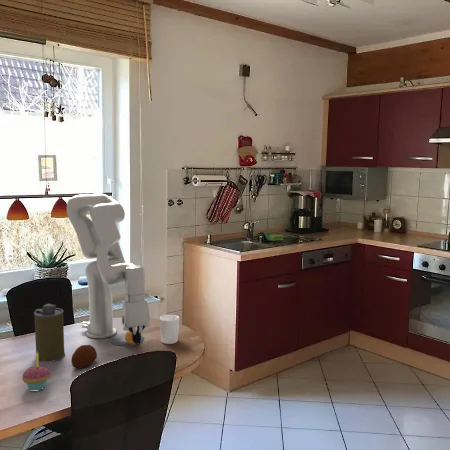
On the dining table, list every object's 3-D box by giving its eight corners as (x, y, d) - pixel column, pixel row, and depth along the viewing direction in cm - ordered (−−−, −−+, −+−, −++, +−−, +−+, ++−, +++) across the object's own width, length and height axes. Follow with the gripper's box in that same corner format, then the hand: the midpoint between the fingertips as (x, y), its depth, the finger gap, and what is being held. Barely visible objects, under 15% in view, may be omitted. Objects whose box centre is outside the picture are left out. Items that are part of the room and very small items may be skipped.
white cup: (180, 337, 210) (180, 314, 209) (177, 345, 202) (177, 321, 201) (162, 337, 211) (162, 314, 209) (157, 344, 203) (157, 320, 202)
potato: (102, 360, 186) (102, 340, 185) (86, 373, 175) (85, 352, 174) (84, 358, 188) (83, 338, 187) (66, 371, 178) (66, 349, 176)
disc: (103, 344, 202) (103, 343, 202) (119, 332, 216) (119, 331, 216) (135, 347, 199) (135, 347, 199) (149, 335, 212) (149, 335, 212)
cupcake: (27, 382, 168) (26, 348, 166) (53, 382, 169) (52, 347, 167) (19, 395, 160) (17, 359, 158) (47, 394, 160) (45, 358, 159)
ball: (125, 341, 198) (119, 335, 203) (134, 350, 201) (129, 343, 206) (136, 330, 199) (130, 324, 204) (145, 338, 202) (139, 332, 207)
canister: (70, 353, 193) (69, 302, 190) (53, 363, 183) (51, 310, 180) (47, 349, 197) (45, 299, 194) (28, 359, 187) (26, 307, 184)
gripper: (149, 292, 203) (150, 336, 206) (113, 298, 196) (115, 343, 198) (157, 296, 197) (158, 342, 199) (120, 302, 189) (121, 349, 192)
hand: (136, 342), depth 199 cm, fingers closed
